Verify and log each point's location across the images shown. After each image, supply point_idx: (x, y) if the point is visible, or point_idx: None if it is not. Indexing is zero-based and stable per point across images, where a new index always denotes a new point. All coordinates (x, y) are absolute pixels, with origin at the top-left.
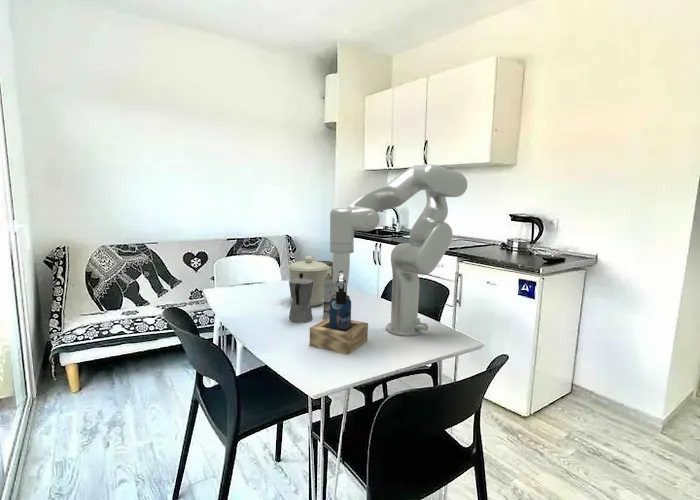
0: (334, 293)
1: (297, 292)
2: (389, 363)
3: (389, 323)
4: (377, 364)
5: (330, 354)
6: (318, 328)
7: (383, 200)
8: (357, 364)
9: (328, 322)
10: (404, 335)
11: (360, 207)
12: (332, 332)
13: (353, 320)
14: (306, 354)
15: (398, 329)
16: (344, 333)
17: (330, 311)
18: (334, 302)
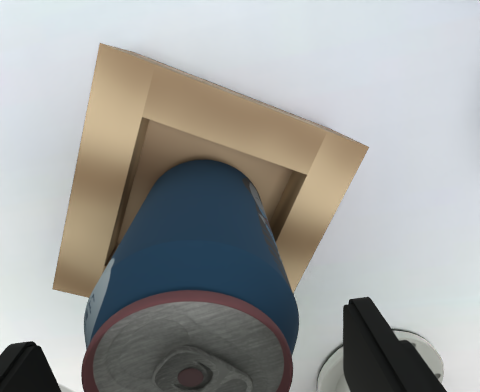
0: None
1: None
2: (68, 361)
3: (424, 345)
4: (44, 333)
5: (65, 172)
6: (103, 109)
7: None
8: (13, 279)
9: (240, 150)
10: (317, 384)
11: None
12: (69, 204)
13: (300, 276)
14: (18, 62)
15: (344, 380)
16: (75, 266)
17: (147, 214)
18: (93, 307)
